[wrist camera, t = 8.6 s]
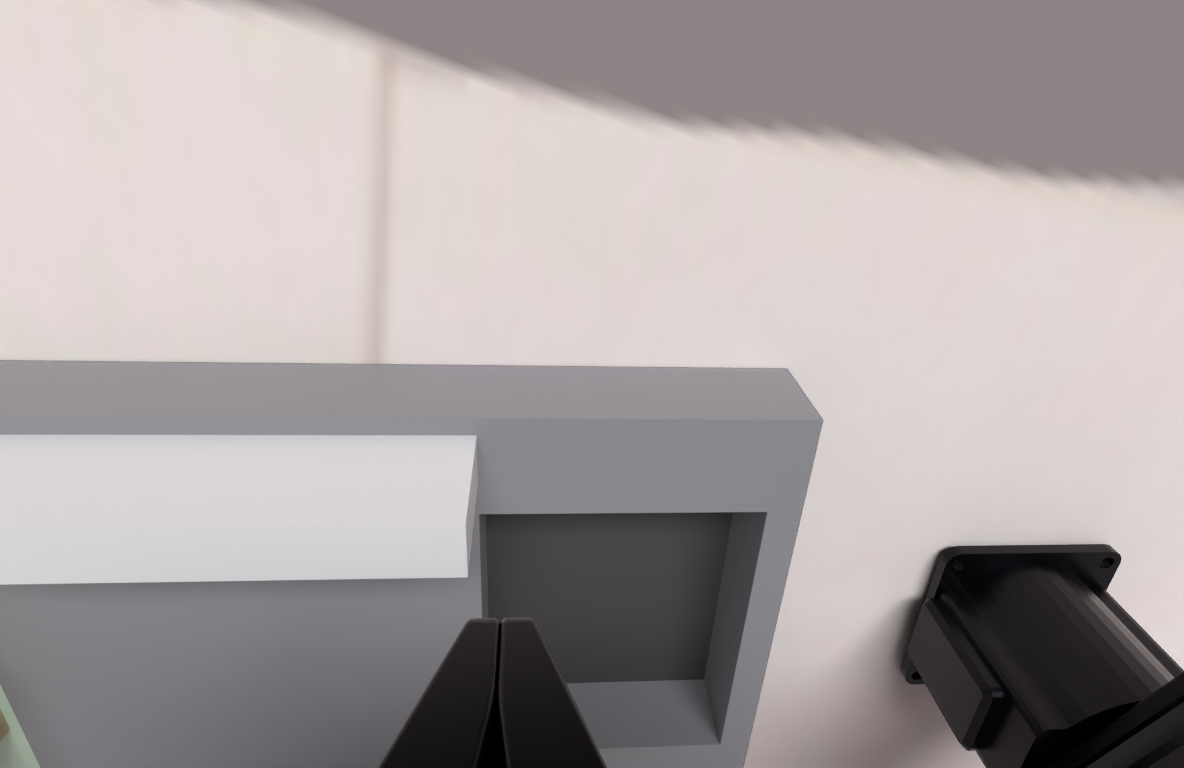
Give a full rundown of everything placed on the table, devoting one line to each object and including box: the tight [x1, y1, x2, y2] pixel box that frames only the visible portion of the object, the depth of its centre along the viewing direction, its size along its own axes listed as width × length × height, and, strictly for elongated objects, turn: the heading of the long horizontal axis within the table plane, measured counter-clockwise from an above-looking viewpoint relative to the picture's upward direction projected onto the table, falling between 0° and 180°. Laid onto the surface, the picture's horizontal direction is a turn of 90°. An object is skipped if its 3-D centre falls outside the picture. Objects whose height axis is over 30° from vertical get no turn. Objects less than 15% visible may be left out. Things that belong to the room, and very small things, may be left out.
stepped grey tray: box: [0, 360, 823, 768], centre depth 21 cm, size 33×16×6 cm, turn 87°
